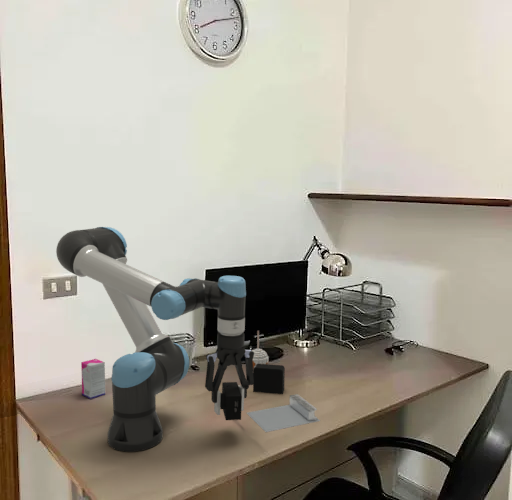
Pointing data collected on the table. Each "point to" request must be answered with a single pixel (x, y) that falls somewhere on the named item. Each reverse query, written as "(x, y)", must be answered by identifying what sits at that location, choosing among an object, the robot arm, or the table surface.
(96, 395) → the supplement box
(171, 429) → the table surface
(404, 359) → the table surface
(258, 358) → the decorative ornament
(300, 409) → the rail
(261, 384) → the electronic device
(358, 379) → the table surface
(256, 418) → the mounting plate
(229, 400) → the digital camera
